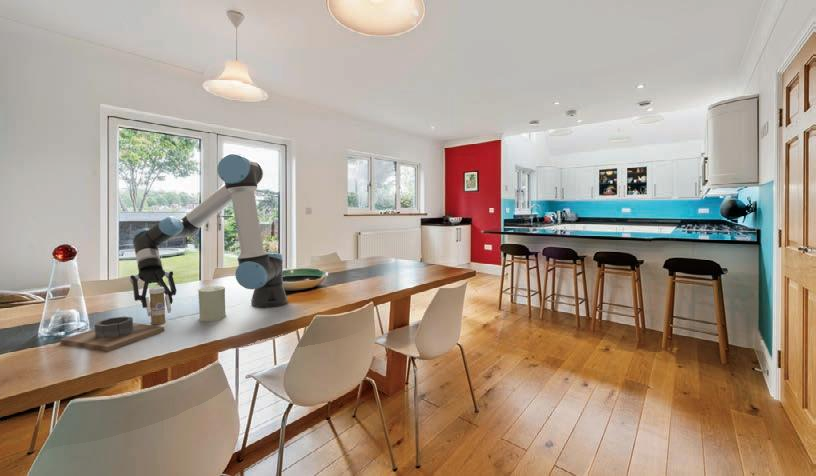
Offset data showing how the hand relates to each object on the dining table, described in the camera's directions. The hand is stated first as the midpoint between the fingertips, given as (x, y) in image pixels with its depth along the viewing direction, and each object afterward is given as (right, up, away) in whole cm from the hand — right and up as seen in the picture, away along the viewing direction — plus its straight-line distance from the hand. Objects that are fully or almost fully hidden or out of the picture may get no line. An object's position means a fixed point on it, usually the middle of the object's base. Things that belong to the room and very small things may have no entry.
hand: (159, 312), depth 125 cm
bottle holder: (-6, -6, -11) cm, 14 cm away
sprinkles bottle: (-3, -5, +3) cm, 6 cm away
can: (+14, -4, +10) cm, 18 cm away
